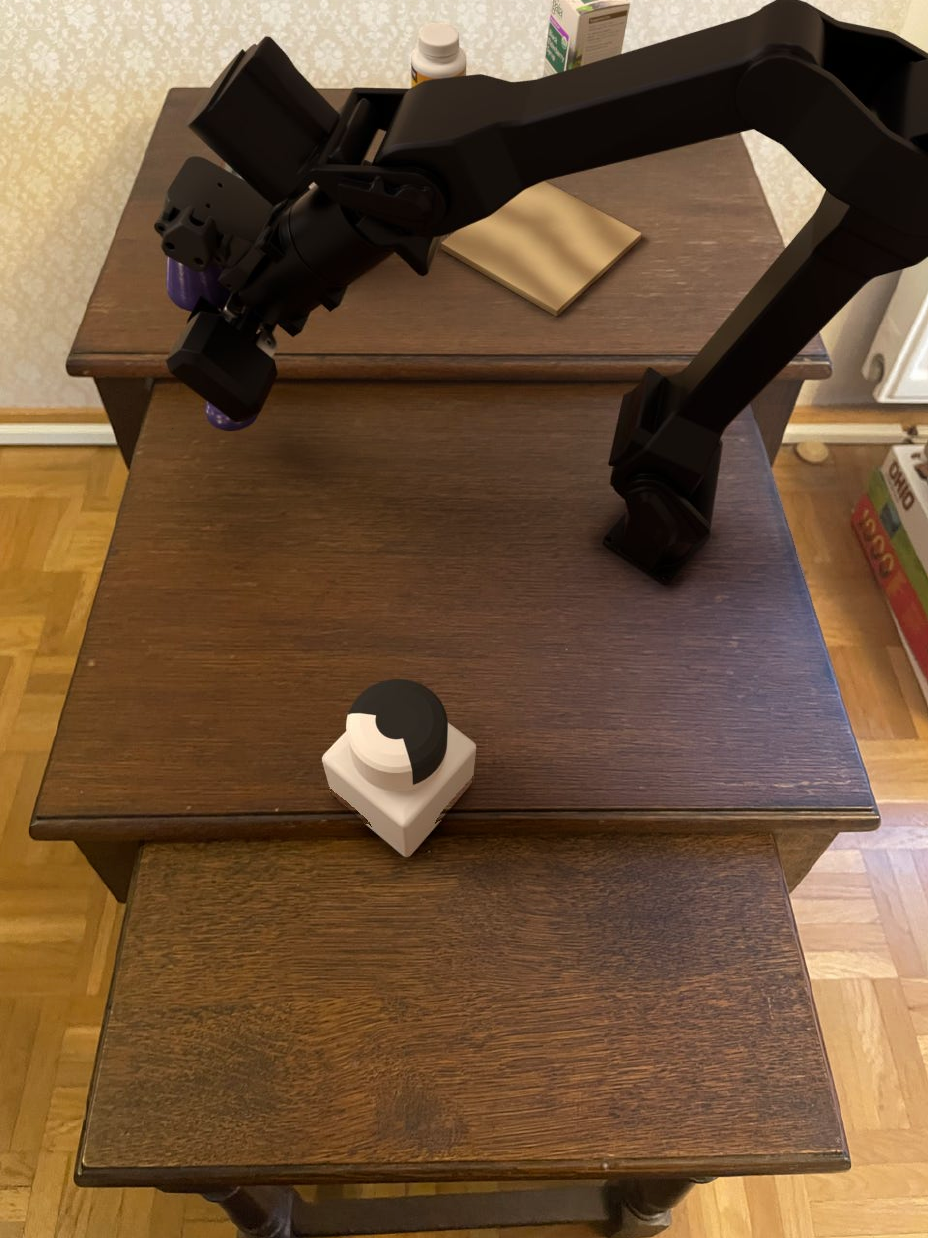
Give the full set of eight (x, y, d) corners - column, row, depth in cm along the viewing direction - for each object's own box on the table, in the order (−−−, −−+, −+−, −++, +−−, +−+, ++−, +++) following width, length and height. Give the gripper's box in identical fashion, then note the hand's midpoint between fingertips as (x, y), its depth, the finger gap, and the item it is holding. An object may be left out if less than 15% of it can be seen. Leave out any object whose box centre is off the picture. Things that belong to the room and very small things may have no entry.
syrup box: (534, 125, 104) (548, -19, 92) (582, 112, 106) (603, -31, 93) (559, 156, 102) (577, 13, 89) (608, 142, 103) (633, 0, 91)
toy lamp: (273, 397, 78) (234, 221, 64) (255, 441, 76) (211, 269, 62) (216, 387, 79) (165, 211, 64) (197, 431, 77) (139, 258, 62)
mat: (556, 316, 90) (557, 310, 90) (440, 249, 95) (440, 242, 94) (640, 239, 96) (642, 233, 95) (527, 179, 100) (528, 172, 99)
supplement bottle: (402, 125, 104) (399, 27, 95) (445, 108, 105) (446, 10, 97) (430, 153, 102) (430, 56, 93) (474, 135, 103) (478, 38, 94)
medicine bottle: (397, 722, 70) (391, 643, 59) (474, 783, 68) (482, 712, 57) (329, 795, 67) (310, 726, 57) (407, 861, 65) (402, 802, 55)
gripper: (275, 50, 61) (155, 178, 71) (158, 247, 52) (40, 360, 62) (402, 183, 67) (273, 282, 77) (317, 381, 58) (185, 462, 68)
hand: (198, 340), depth 71 cm, fingers closed on toy lamp, 3 cm apart
